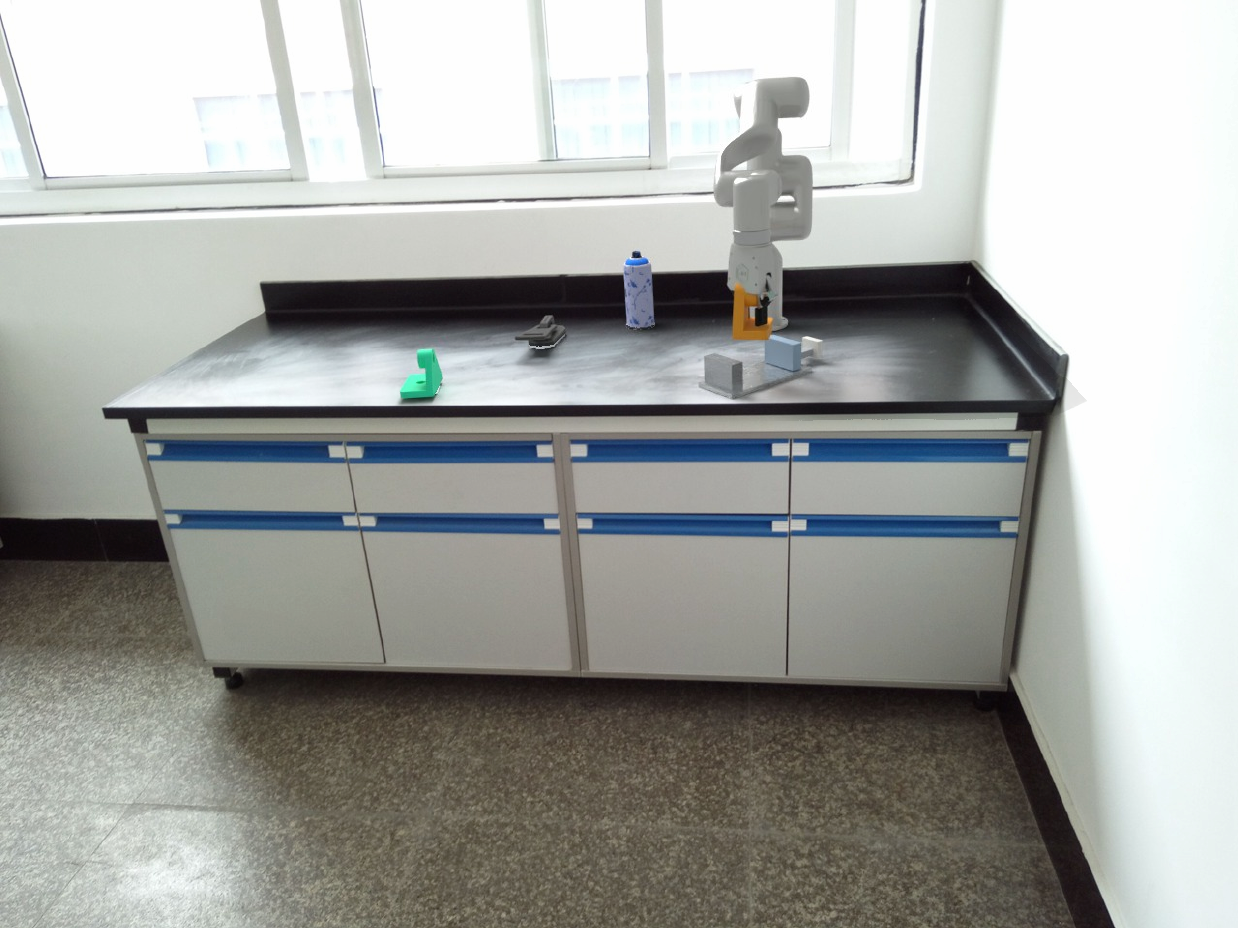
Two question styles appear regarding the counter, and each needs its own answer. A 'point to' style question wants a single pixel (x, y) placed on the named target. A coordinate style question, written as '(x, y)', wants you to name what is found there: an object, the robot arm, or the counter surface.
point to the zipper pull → (543, 333)
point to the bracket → (741, 323)
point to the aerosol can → (638, 291)
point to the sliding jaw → (791, 351)
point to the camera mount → (423, 377)
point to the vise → (743, 375)
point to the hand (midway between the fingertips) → (752, 321)
